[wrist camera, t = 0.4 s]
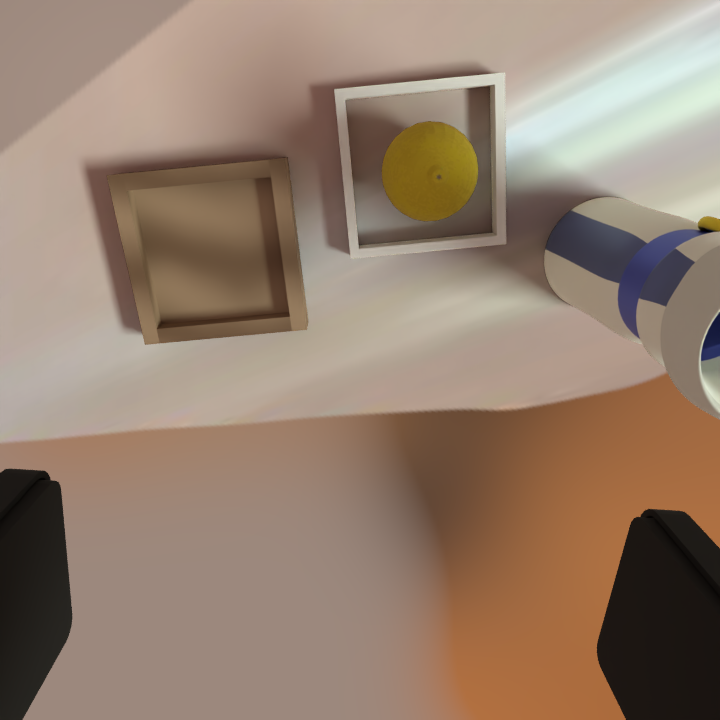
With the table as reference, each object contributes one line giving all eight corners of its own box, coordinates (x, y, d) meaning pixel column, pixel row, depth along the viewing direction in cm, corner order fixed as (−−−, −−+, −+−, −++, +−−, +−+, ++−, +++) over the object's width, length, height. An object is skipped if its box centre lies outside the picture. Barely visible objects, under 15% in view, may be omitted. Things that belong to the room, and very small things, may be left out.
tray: (117, 174, 39) (106, 175, 37) (287, 157, 39) (284, 158, 37) (152, 336, 43) (144, 344, 41) (308, 321, 42) (306, 329, 41)
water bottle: (583, 163, 39) (937, 203, 16) (686, 228, 41) (1149, 351, 17) (512, 274, 42) (728, 452, 18) (612, 330, 43) (929, 562, 20)
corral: (334, 90, 37) (334, 89, 36) (499, 74, 37) (505, 72, 36) (350, 255, 41) (350, 258, 39) (501, 240, 41) (506, 244, 39)
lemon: (365, 192, 39) (369, 205, 32) (400, 108, 38) (413, 100, 30) (441, 226, 40) (462, 246, 33) (478, 145, 39) (510, 146, 31)
